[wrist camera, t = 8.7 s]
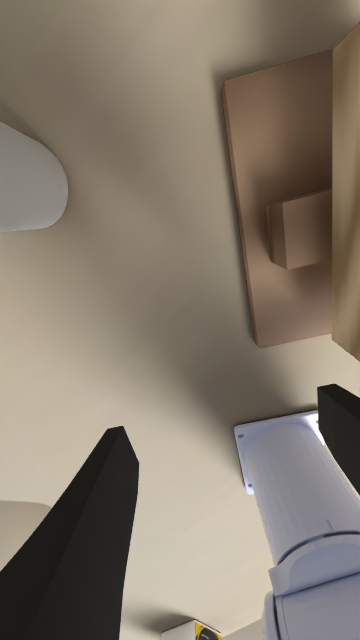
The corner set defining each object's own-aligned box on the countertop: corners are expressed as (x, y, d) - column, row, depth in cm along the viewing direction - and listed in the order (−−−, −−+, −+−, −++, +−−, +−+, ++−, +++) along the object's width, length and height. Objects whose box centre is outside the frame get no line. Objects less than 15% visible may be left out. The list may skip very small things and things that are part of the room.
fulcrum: (412, 308, 19) (461, 327, 16) (254, 342, 20) (270, 367, 16) (451, 23, 13) (545, -42, 10) (220, 89, 14) (235, 50, 10)
